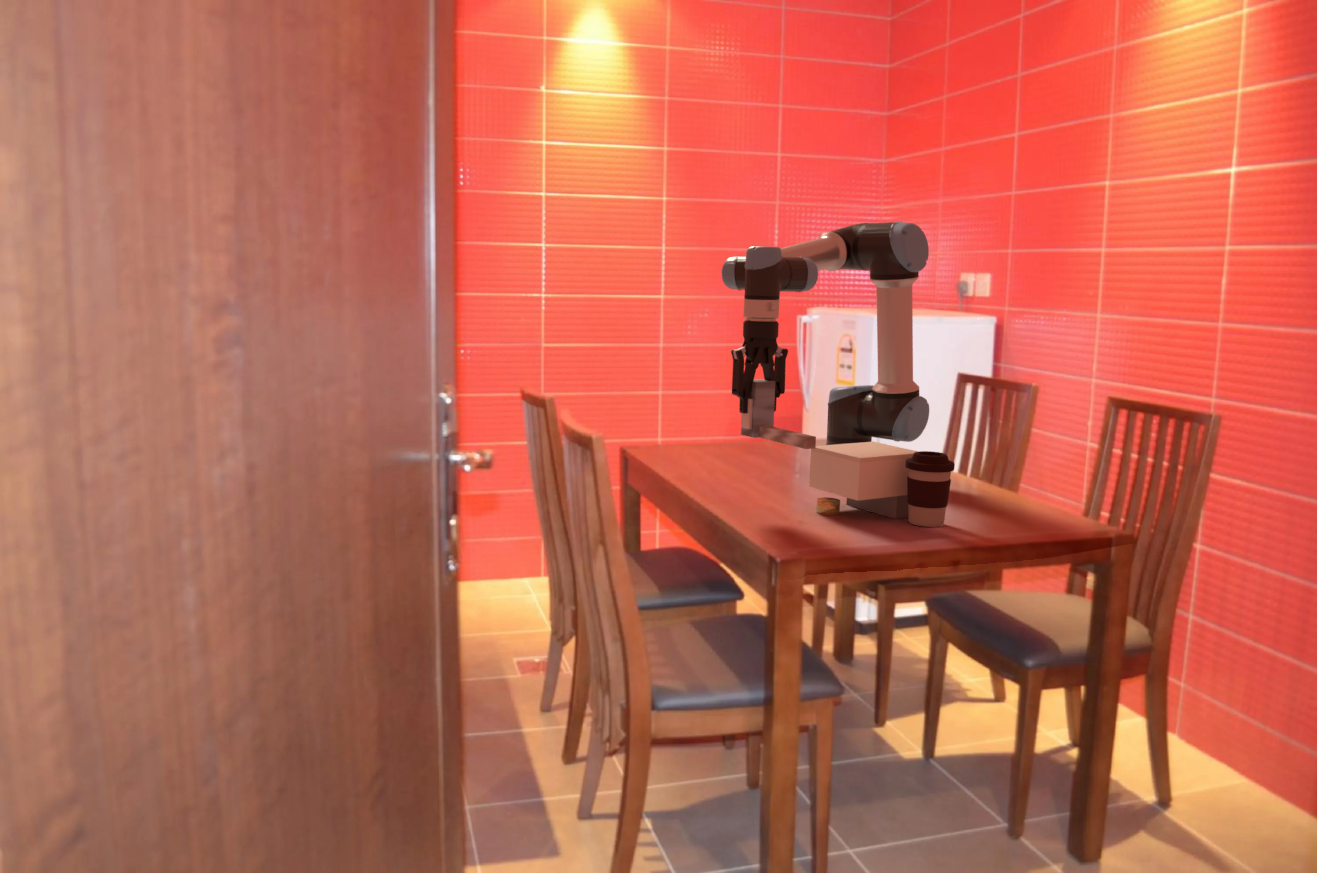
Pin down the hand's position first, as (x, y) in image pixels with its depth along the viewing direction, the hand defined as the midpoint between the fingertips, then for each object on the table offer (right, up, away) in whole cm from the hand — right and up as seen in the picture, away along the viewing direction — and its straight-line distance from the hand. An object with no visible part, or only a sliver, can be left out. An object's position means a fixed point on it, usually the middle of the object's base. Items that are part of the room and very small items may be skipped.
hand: (757, 427), depth 229 cm
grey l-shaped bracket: (+4, -3, -7) cm, 8 cm away
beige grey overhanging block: (+24, -19, +3) cm, 30 cm away
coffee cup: (+35, -21, -6) cm, 41 cm away
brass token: (+16, -19, +2) cm, 25 cm away
